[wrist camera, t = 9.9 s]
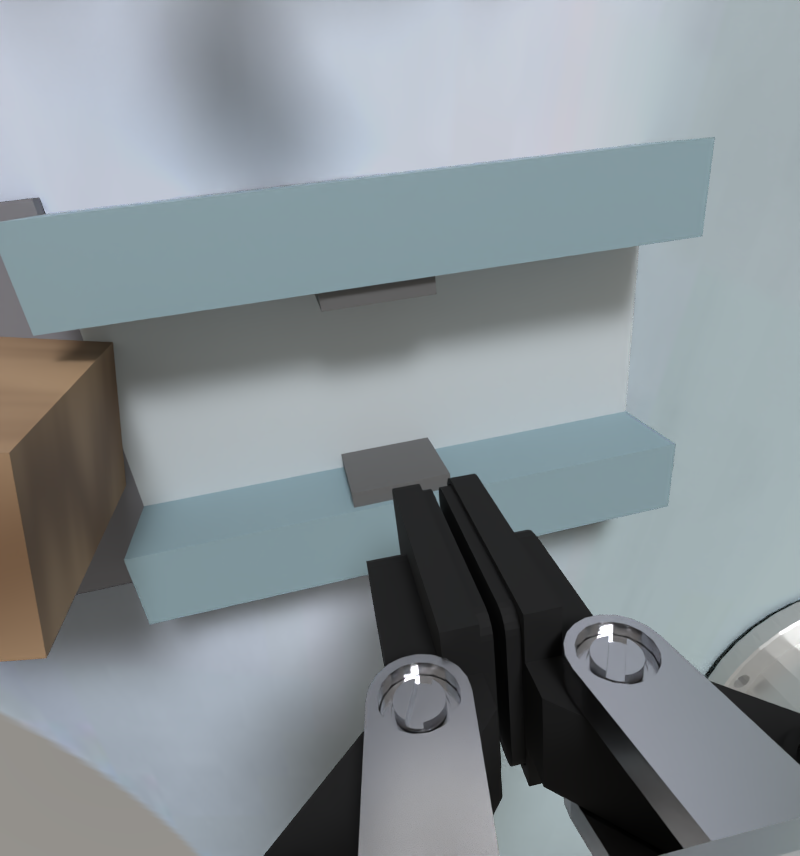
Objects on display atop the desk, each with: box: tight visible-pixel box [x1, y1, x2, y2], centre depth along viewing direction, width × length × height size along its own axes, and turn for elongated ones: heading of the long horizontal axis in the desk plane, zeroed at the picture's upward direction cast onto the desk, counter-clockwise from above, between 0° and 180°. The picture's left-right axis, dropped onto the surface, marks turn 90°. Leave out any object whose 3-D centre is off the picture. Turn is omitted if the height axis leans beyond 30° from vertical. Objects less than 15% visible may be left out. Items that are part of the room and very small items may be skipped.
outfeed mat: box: [0, 198, 144, 594], centre depth 16 cm, size 12×6×1 cm, turn 6°
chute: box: [0, 137, 715, 624], centre depth 17 cm, size 11×17×3 cm, turn 96°
